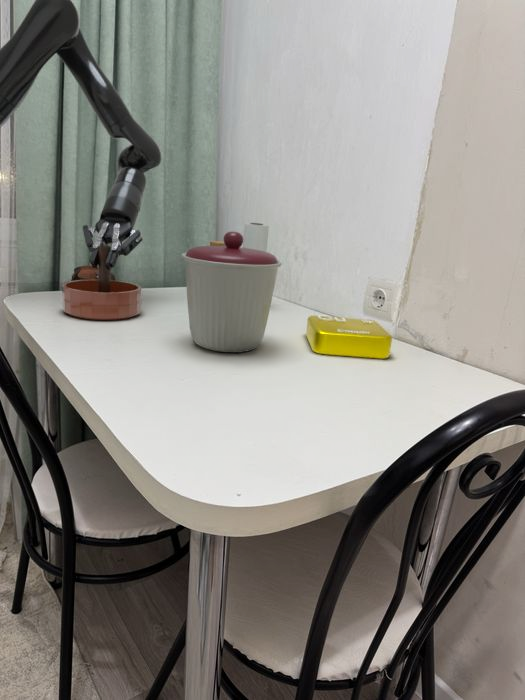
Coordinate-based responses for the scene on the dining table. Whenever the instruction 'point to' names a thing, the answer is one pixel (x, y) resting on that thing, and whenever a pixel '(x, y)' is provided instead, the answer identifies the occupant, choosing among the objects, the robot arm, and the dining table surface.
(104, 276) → the stirring stick
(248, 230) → the paper towel roll
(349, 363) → the dining table surface
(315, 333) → the element tile
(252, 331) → the canister
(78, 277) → the pottery mug
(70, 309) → the bowl
